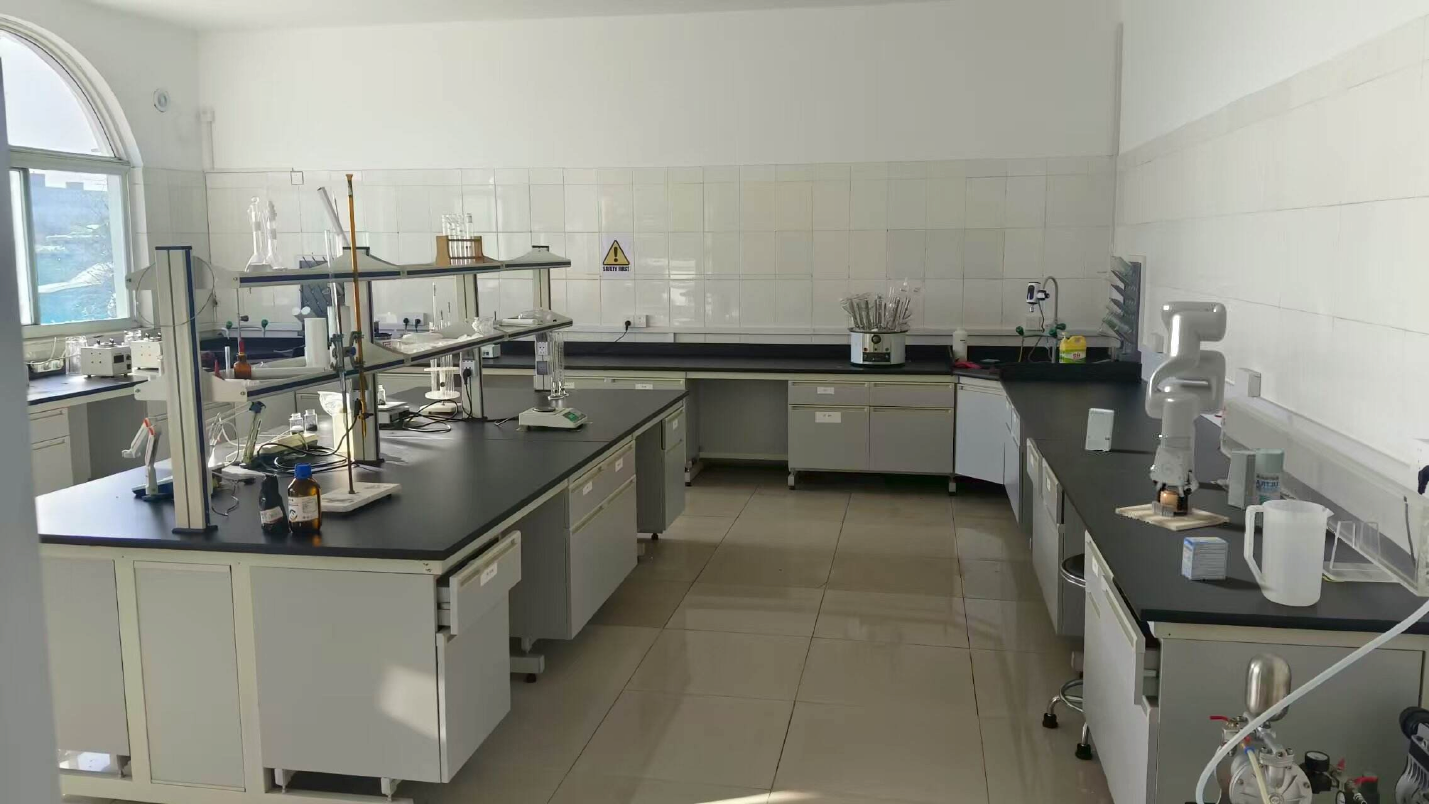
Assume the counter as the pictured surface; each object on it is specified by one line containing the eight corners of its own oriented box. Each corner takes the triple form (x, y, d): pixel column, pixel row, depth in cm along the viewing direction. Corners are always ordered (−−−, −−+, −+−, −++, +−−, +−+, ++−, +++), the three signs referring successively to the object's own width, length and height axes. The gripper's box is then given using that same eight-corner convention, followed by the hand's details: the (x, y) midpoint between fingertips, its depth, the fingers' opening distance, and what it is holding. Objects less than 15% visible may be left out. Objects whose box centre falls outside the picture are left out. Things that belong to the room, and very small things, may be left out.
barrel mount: (1115, 513, 288) (1116, 498, 287) (1167, 505, 296) (1168, 491, 296) (1175, 530, 270) (1176, 514, 269) (1228, 522, 278) (1229, 506, 278)
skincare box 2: (1243, 510, 291) (1248, 454, 289) (1225, 504, 298) (1229, 449, 296) (1268, 508, 293) (1273, 453, 291) (1249, 502, 300) (1253, 448, 298)
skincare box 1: (1085, 450, 377) (1087, 409, 375) (1087, 447, 382) (1090, 407, 380) (1109, 452, 373) (1112, 411, 371) (1111, 449, 379) (1114, 409, 376)
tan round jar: (1154, 507, 284) (1156, 489, 283) (1170, 505, 287) (1171, 487, 286) (1172, 512, 279) (1174, 494, 278) (1188, 510, 281) (1190, 492, 280)
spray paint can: (1278, 524, 277) (1284, 450, 274) (1277, 529, 271) (1283, 454, 268) (1251, 520, 280) (1257, 447, 277) (1249, 526, 274) (1255, 451, 271)
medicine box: (1215, 573, 234) (1218, 536, 233) (1225, 580, 230) (1228, 542, 229) (1180, 574, 234) (1183, 536, 233) (1190, 580, 230) (1193, 542, 228)
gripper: (1140, 438, 286) (1136, 501, 289) (1193, 448, 271) (1188, 516, 273) (1160, 436, 289) (1156, 499, 292) (1213, 446, 274) (1208, 513, 276)
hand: (1171, 506), depth 282 cm, fingers closed on tan round jar, 5 cm apart
